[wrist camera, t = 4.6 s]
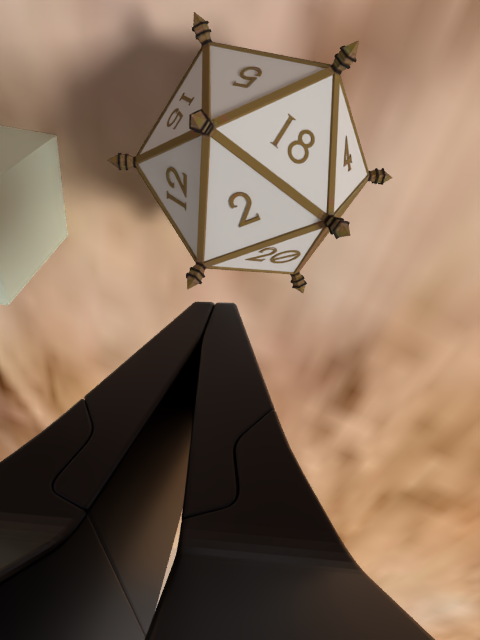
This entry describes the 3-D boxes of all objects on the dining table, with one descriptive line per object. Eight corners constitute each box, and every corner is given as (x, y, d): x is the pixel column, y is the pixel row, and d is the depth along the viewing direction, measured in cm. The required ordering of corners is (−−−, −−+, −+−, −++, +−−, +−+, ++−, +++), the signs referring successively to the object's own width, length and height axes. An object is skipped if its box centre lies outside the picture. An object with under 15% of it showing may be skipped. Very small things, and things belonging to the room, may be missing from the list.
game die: (310, 97, 21) (496, 179, 15) (208, 246, 23) (333, 374, 17) (164, -69, 15) (385, -48, 8) (41, 159, 17) (142, 315, 10)
